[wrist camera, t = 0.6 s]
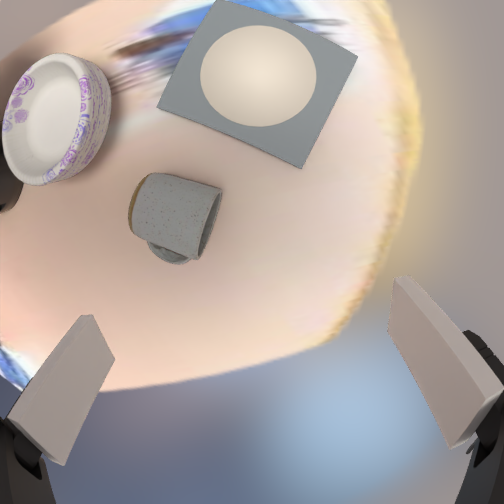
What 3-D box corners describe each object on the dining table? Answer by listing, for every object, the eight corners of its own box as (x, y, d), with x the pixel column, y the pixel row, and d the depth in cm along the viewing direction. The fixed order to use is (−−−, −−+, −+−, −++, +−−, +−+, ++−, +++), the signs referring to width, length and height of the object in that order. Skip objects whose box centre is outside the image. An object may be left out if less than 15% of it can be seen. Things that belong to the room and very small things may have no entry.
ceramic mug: (158, 165, 30) (129, 174, 23) (226, 184, 30) (215, 198, 23) (142, 248, 34) (116, 275, 27) (203, 266, 34) (189, 300, 27)
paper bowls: (48, 70, 24) (11, 63, 17) (136, 61, 25) (105, 43, 18) (33, 171, 30) (-5, 182, 22) (114, 182, 30) (79, 194, 23)
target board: (160, 108, 27) (155, 107, 26) (218, 3, 22) (217, -3, 21) (299, 168, 30) (301, 169, 28) (354, 59, 24) (358, 56, 23)
